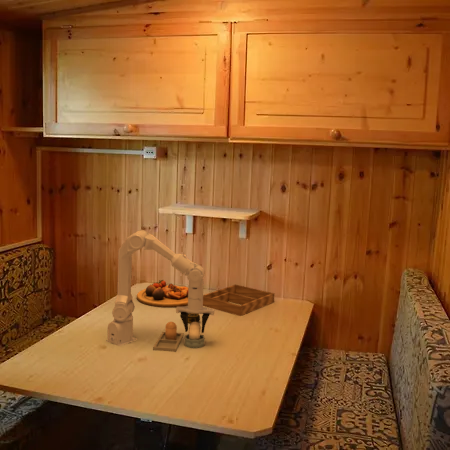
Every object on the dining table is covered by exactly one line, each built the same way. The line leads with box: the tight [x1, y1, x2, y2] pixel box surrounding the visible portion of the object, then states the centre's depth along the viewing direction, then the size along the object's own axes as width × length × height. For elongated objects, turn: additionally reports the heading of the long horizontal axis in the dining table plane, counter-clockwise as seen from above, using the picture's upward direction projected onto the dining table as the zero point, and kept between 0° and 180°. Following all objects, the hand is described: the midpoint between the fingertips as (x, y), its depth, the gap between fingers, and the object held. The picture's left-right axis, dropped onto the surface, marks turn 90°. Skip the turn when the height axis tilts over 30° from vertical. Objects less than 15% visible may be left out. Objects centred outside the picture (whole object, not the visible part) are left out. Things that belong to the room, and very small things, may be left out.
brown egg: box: [164, 321, 178, 340], centre depth 205 cm, size 4×4×7 cm
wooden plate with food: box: [136, 279, 188, 308], centre depth 262 cm, size 32×32×8 cm
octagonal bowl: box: [184, 333, 205, 349], centre depth 201 cm, size 8×8×4 cm
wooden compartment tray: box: [203, 284, 275, 317], centre depth 256 cm, size 29×24×4 cm
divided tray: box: [152, 331, 185, 353], centre depth 202 cm, size 16×9×2 cm, turn 174°
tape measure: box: [188, 313, 201, 325], centre depth 227 cm, size 7×7×4 cm
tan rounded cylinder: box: [188, 322, 202, 340], centre depth 200 cm, size 4×4×7 cm
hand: (194, 331), depth 200 cm, fingers open, 6 cm apart
